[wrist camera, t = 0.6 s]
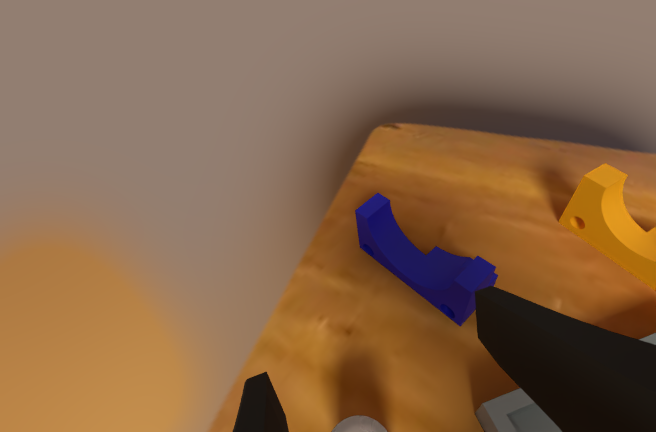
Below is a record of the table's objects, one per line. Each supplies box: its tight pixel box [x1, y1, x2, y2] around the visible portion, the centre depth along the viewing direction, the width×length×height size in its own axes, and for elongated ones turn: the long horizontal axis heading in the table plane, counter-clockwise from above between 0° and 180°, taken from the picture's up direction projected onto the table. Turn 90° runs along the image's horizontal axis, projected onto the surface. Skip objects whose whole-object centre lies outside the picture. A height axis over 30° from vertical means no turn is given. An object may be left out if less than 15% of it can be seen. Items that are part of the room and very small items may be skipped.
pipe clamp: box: [558, 163, 656, 291], centre depth 28 cm, size 12×4×6 cm, turn 28°
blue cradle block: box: [355, 193, 498, 326], centre depth 31 cm, size 12×4×6 cm, turn 41°
